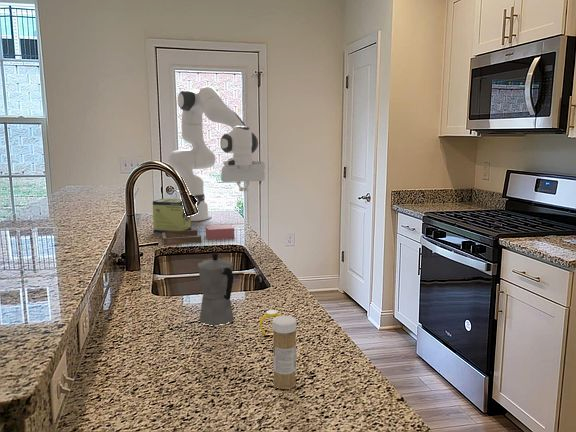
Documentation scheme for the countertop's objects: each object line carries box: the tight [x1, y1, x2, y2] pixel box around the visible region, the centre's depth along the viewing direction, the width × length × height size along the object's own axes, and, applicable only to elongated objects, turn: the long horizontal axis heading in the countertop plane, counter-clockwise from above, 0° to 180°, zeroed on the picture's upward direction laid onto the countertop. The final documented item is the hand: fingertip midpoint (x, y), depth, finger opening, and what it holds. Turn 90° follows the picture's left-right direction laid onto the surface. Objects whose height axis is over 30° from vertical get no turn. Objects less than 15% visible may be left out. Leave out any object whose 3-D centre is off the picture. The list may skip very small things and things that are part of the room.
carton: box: [204, 224, 236, 241], centre depth 221 cm, size 9×12×5 cm
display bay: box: [161, 229, 202, 245], centre depth 216 cm, size 15×16×2 cm
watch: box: [259, 309, 282, 335], centre depth 114 cm, size 6×3×6 cm, turn 101°
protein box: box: [152, 198, 192, 234], centre depth 233 cm, size 10×16×16 cm
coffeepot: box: [197, 252, 235, 325], centre depth 121 cm, size 15×9×18 cm, turn 35°
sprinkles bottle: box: [271, 315, 298, 390], centre depth 90 cm, size 5×5×13 cm
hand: (243, 191), depth 221 cm, fingers closed
